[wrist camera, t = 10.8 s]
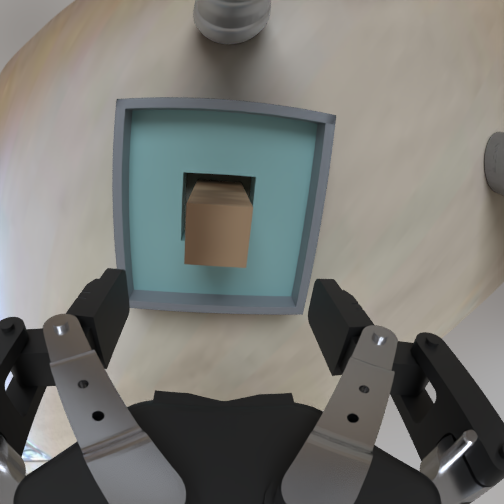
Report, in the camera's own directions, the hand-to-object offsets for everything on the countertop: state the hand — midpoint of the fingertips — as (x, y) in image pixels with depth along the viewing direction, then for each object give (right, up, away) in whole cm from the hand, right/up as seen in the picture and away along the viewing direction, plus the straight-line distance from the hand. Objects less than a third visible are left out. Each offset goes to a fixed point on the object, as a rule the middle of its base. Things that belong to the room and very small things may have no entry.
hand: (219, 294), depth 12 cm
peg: (-2, +6, +15) cm, 17 cm away
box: (-2, +6, +15) cm, 17 cm away
